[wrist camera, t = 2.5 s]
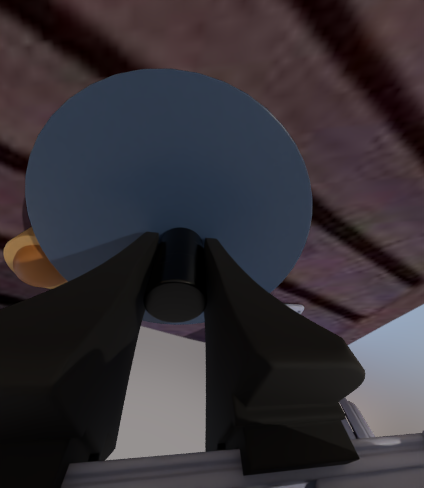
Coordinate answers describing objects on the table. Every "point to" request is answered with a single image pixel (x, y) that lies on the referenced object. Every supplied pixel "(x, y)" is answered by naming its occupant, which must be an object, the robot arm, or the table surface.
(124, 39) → the table surface
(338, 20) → the table surface
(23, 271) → the ball in tan cup
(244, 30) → the table surface
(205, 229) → the lid
